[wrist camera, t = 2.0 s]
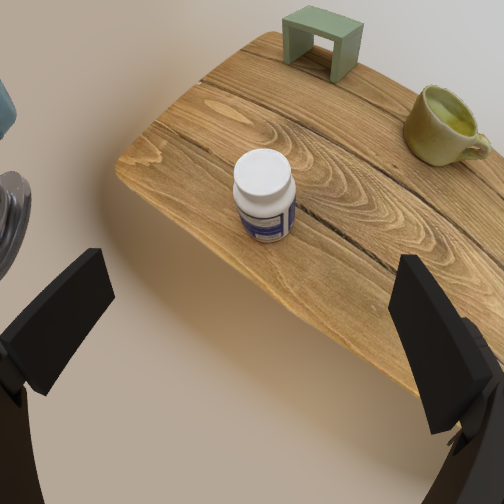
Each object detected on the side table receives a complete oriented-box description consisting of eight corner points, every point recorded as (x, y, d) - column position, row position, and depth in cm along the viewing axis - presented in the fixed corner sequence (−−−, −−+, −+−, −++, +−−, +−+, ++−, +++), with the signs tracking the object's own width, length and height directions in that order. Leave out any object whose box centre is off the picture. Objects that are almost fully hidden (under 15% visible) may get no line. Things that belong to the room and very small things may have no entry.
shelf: (283, 62, 41) (281, 18, 32) (307, 45, 43) (308, 5, 34) (336, 84, 38) (342, 38, 30) (356, 64, 40) (364, 23, 31)
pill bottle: (267, 188, 34) (261, 132, 24) (304, 218, 32) (312, 168, 23) (231, 221, 33) (213, 173, 23) (268, 254, 31) (263, 215, 22)
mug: (381, 131, 33) (425, 80, 24) (404, 115, 37) (440, 75, 28) (442, 202, 31) (496, 162, 23) (455, 174, 36) (497, 140, 27)
